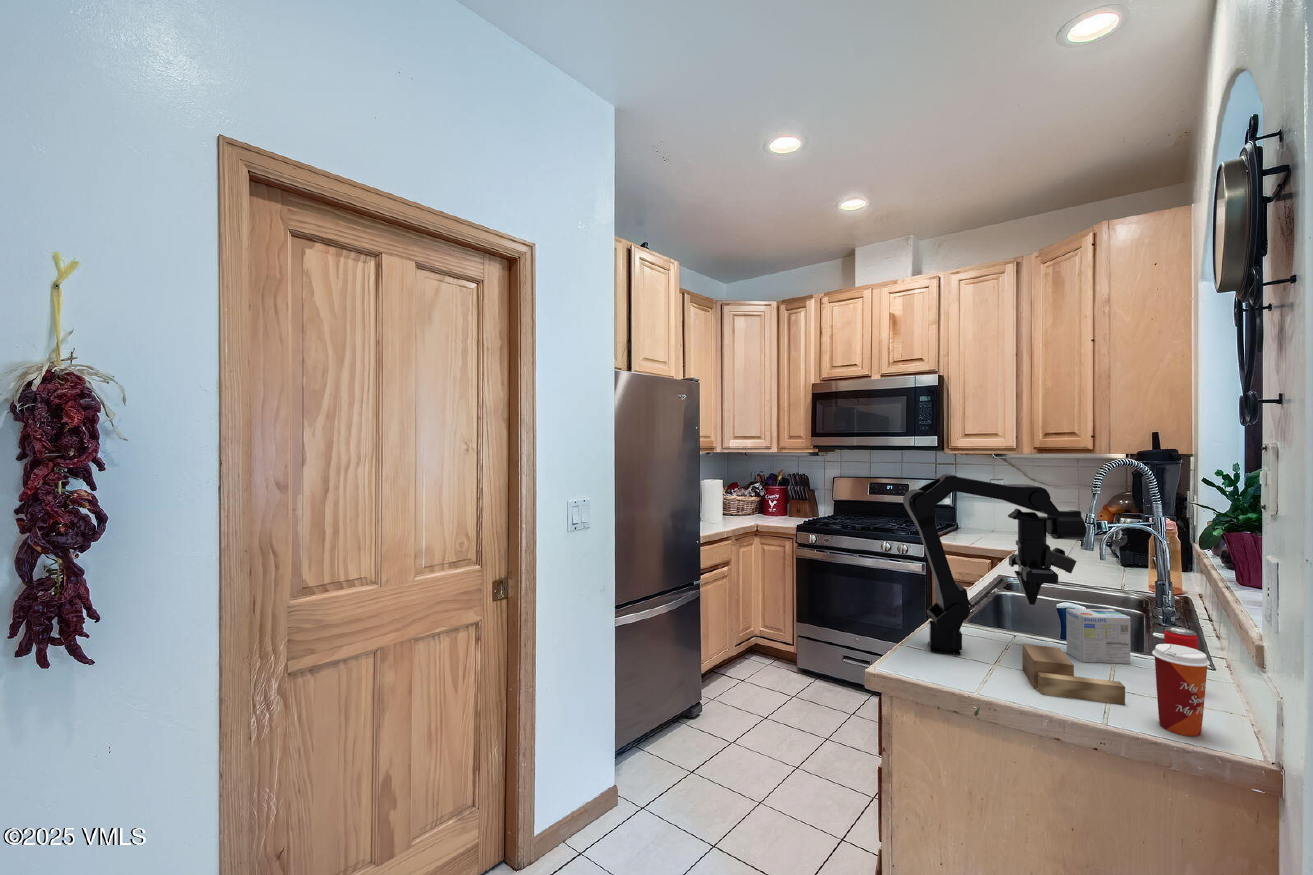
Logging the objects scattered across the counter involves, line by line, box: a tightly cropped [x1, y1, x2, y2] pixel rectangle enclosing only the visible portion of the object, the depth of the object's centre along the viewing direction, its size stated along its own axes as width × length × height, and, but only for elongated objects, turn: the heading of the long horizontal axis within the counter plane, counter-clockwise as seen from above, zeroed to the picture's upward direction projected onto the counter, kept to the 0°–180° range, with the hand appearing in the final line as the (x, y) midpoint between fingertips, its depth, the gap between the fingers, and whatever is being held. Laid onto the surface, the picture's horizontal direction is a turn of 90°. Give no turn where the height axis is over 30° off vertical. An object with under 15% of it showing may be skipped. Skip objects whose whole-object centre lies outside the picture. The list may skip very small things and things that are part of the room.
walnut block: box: [1021, 643, 1075, 690], centre depth 125 cm, size 7×10×6 cm
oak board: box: [1037, 672, 1126, 705], centre depth 118 cm, size 14×2×4 cm, turn 70°
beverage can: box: [1163, 626, 1199, 650], centre depth 121 cm, size 5×5×12 cm
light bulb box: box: [1065, 607, 1131, 665], centre depth 138 cm, size 11×7×11 cm, turn 84°
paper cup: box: [1151, 643, 1211, 738], centre depth 105 cm, size 8×8×14 cm
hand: (1031, 604), depth 140 cm, fingers closed
